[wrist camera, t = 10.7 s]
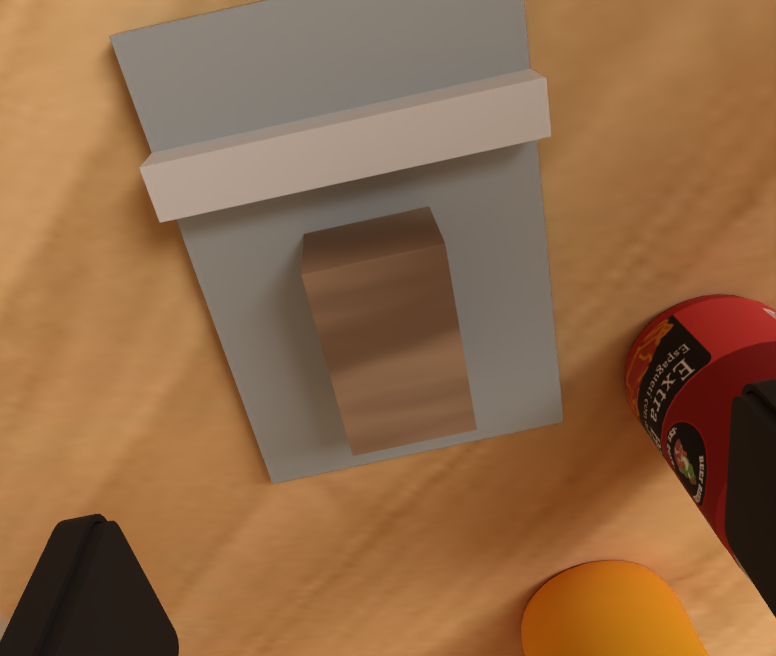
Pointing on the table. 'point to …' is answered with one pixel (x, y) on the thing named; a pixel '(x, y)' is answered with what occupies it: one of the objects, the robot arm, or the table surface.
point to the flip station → (352, 191)
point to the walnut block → (389, 329)
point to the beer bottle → (608, 615)
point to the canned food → (700, 388)
